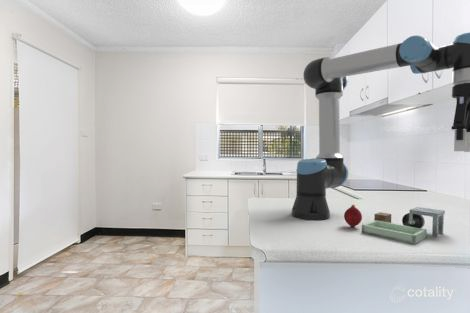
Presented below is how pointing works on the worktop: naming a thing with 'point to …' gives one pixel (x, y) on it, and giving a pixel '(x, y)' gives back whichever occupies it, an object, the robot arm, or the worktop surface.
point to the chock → (383, 217)
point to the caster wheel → (417, 220)
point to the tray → (394, 231)
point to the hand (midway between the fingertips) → (464, 151)
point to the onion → (353, 216)
